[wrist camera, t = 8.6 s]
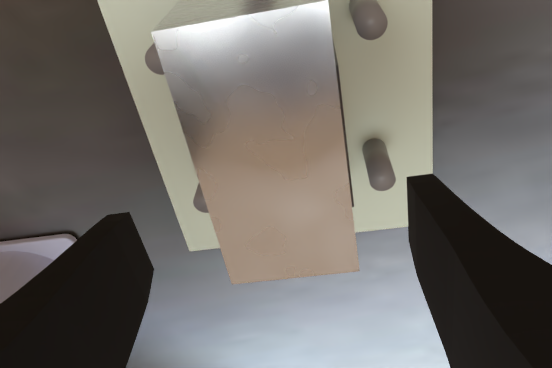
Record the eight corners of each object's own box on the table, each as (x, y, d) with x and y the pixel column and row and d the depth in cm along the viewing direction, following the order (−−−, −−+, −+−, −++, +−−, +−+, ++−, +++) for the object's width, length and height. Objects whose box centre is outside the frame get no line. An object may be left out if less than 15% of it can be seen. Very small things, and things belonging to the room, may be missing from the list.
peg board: (428, 211, 23) (446, 259, 21) (193, 238, 25) (179, 287, 22) (424, -159, 15) (454, -165, 12) (78, -84, 17) (33, -74, 14)
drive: (347, 176, 21) (362, 270, 16) (247, 189, 22) (232, 284, 17) (321, -41, 17) (332, -1, 12) (193, -16, 17) (150, 31, 12)
